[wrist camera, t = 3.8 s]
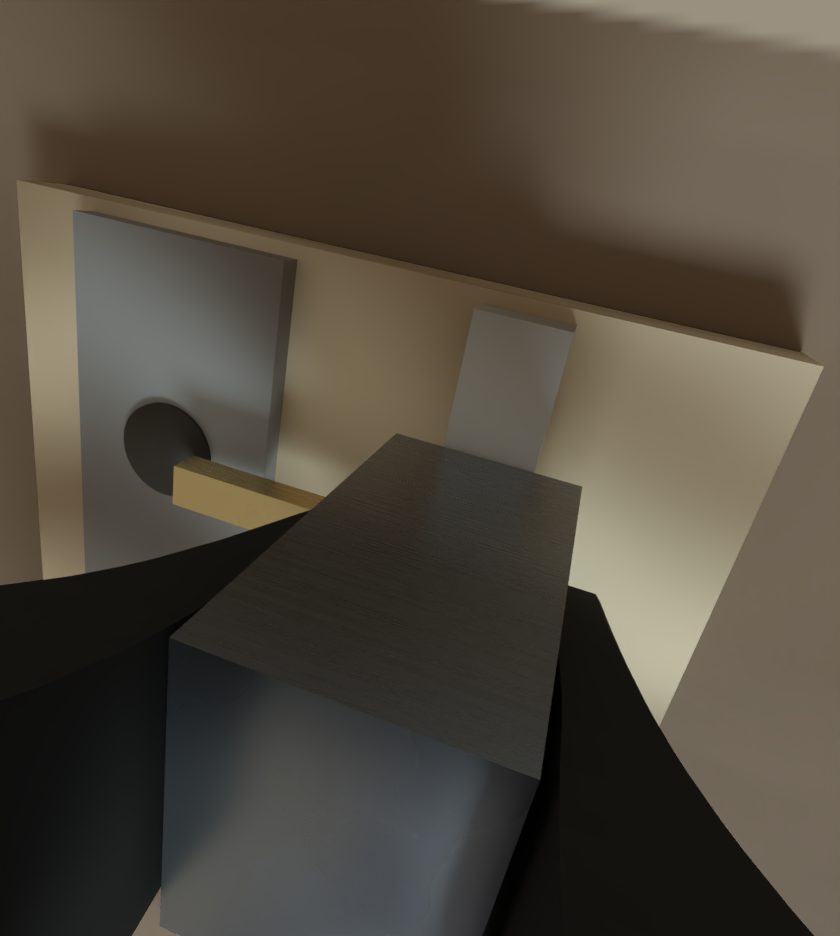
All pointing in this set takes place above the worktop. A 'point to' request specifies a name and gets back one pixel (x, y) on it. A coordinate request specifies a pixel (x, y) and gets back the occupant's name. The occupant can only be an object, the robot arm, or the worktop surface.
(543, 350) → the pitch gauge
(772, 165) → the worktop surface
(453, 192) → the worktop surface
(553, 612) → the grey rectangular block
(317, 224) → the worktop surface
